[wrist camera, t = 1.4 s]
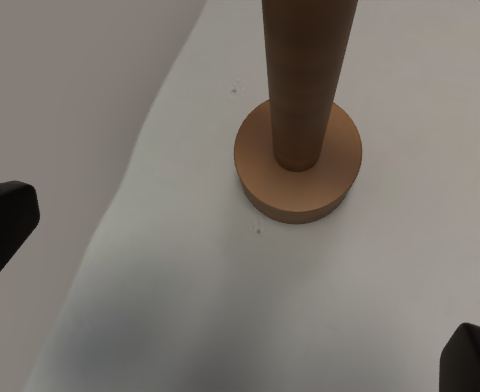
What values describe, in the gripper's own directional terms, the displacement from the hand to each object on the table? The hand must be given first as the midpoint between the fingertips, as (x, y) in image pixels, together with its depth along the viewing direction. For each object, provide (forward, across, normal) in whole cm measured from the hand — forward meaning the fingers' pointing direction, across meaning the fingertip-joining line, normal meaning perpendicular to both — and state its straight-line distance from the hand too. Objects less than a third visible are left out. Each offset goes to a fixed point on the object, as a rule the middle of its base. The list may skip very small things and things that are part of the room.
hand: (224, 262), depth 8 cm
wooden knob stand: (+13, 0, +4) cm, 14 cm away
